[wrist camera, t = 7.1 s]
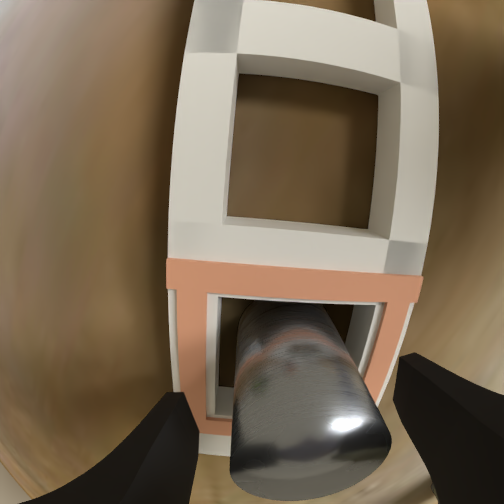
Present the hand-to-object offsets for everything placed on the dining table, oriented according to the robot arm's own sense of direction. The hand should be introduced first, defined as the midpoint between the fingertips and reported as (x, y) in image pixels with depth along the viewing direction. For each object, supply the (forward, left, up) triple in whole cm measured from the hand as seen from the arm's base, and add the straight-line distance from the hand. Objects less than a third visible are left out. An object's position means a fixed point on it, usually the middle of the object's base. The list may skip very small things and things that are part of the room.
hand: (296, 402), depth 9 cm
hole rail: (0, -8, -4) cm, 9 cm away
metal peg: (0, 0, -4) cm, 4 cm away
